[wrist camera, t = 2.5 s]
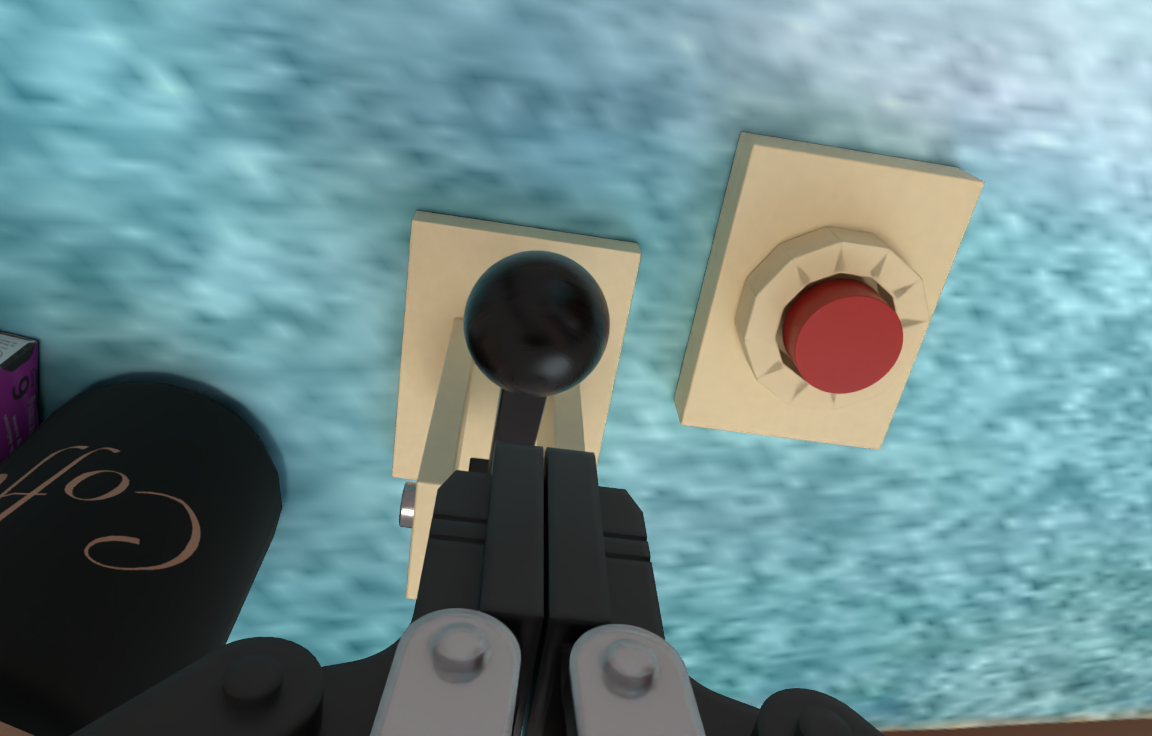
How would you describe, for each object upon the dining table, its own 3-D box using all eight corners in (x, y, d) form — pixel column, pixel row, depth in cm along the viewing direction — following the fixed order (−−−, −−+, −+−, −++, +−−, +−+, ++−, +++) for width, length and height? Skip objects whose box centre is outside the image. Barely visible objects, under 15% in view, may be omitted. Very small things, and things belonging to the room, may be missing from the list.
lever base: (416, 209, 33) (350, 352, 22) (638, 243, 34) (687, 396, 23) (396, 461, 38) (334, 681, 27) (588, 483, 39) (607, 705, 28)
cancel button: (798, 270, 31) (812, 288, 29) (900, 285, 31) (919, 304, 30) (770, 365, 33) (781, 387, 31) (866, 378, 33) (882, 400, 31)
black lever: (476, 209, 18) (458, 328, 16) (624, 231, 18) (622, 350, 16) (452, 483, 28) (438, 573, 26) (545, 494, 29) (538, 584, 27)
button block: (740, 131, 32) (764, 155, 28) (959, 167, 33) (1009, 195, 29) (673, 400, 37) (686, 448, 34) (863, 424, 38) (896, 474, 35)
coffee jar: (297, 392, 36) (107, 746, 20) (283, 577, 41) (120, 982, 25) (39, 349, 35) (-380, 694, 19) (54, 546, 40) (-271, 953, 24)
